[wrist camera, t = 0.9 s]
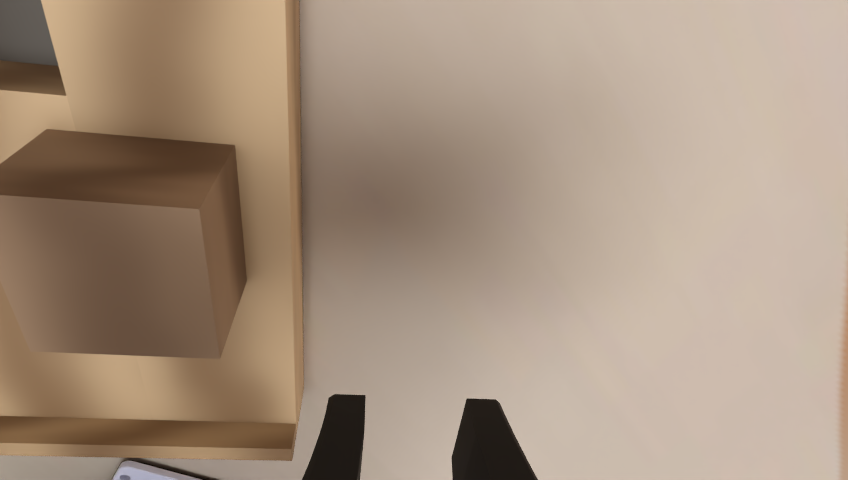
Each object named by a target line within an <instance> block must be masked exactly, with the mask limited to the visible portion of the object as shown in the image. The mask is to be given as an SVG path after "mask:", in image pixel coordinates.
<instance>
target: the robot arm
mask: <svg viewBox="0 0 848 480" xmlns="http://www.w3.org/2000/svg"><path fill="white" fill-rule="evenodd" d="M364 424H365V395H340V394H334V395H333V396H331V397H330V398H329V400H328V405H327V410H326V414H325V417H324V421H323V425H322V428H321V431H320V434H319V437H318V440H317V443H316V446H315V449H314V451H313V454H312V457H311V460H310V462H309V465H308V467H307V469H306V472H305V474H304V477H303V479H302V480H360V472H361V461H362V450H363V440H364ZM452 473H453V480H538V479H537V477H536V476H535V474H534V472H533V470H532V468H531V466H530V464H529V463H528V461H527V459H526V457H525V455H524V453H523V451H522V449H521V447H520V445H519V443H518V441H517V439H516V437H515V435H514V433H513V431H512V429H511V427H510V425H509V423H508V420H507V418H506V416H505V414H504V412H503V409H502V407H501V405H500V403H499V402H498V401H497V400H492V399H467V400H466V404H465V408H464V412H463V416H462V419H461V423H460V427H459V431H458V435H457V439H456V443H455V447H454V451H453V455H452ZM112 480H201V479H198V478H194V477H190V476H187V475H183V474H179V473H176V472H172V471H168V470H164V469H161V468H157V467H153V466H150V465H146V464H142V463H139V462H135V461H125V462H122V463H121V464H120V466H119V468H118V470H117V471H116V473H115V475H114V477H113V478H112Z"/></svg>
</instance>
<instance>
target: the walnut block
mask: <svg viewBox="0 0 848 480" xmlns="http://www.w3.org/2000/svg"><path fill="white" fill-rule="evenodd" d="M0 281H1V284H2V286H3V289H4V291H5V293H6V296H7V298H8V300H9V303H10V305H11V307H12V310H13V312H14V314H15V317H16V319H17V321H18V324H19V326H20V328H21V331H22V333H23V335H24V338H25V340H26V342H27V345H28V347H29V349H30V352H55V353H80V354H106V355H131V356H156V357H181V358H206V359H220V358H221V355H222V352H223V349H224V346H225V343H226V340H227V337H228V335H229V332H230V329H231V326H232V323H233V320H234V317H235V314H236V311H237V308H238V306H239V303H240V300H241V297H242V294H243V291H244V288H245V285H246V282H247V275H246V264H245V252H244V241H243V229H242V218H241V207H240V195H239V184H238V172H237V161H236V150H235V145H230V144H218V143H207V142H195V141H183V140H171V139H160V138H148V137H136V136H124V135H113V134H101V133H89V132H77V131H66V130H54V129H46V130H45V131H43V132H42V133H41V134H39V135H38V136H37V137H35V138H34V139H33V140H31V141H30V142H29V143H27V144H26V145H25V146H23V147H22V148H21V149H19V150H18V151H17V152H15V153H14V154H13V155H11V156H10V157H9V158H7V159H6V160H5V161H3V162H2V163H1V164H0Z"/></svg>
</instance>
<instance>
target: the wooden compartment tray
mask: <svg viewBox="0 0 848 480" xmlns="http://www.w3.org/2000/svg"><path fill="white" fill-rule="evenodd" d="M46 129H54V130H66V131H77V132H89V133H101V134H113V135H124V136H136V137H148V138H160V139H171V140H183V141H195V142H207V143H218V144H230V145H235V150H236V161H237V172H238V184H239V195H240V207H241V218H242V229H243V241H244V252H245V264H246V275H247V282H246V285H245V288H244V291H243V294H242V297H241V300H240V303H239V306H238V308H237V311H236V314H235V317H234V320H233V323H232V326H231V329H230V332H229V335H228V337H227V340H226V343H225V346H224V349H223V352H222V355H221V358H220V359H206V358H181V357H156V356H131V355H106V354H80V353H55V352H30V349H29V347H28V345H27V342H26V340H25V338H24V335H23V333H22V331H21V328H20V326H19V324H18V321H17V319H16V317H15V314H14V312H13V310H12V307H11V305H10V303H9V300H8V298H7V296H6V293H5V291H4V289H3V286H2V284H1V281H0V455H20V456H73V457H126V458H179V459H233V460H286V461H292V458H293V452H294V446H295V439H296V433H297V427H298V421H299V415H300V409H301V403H302V396H303V390H304V368H303V280H302V193H301V105H300V18H299V0H0V164H1V163H2V162H3V161H5V160H6V159H7V158H9V157H10V156H11V155H13V154H14V153H15V152H17V151H18V150H19V149H21V148H22V147H23V146H25V145H26V144H27V143H29V142H30V141H31V140H33V139H34V138H35V137H37V136H38V135H39V134H41V133H42V132H43V131H45V130H46Z"/></svg>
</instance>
